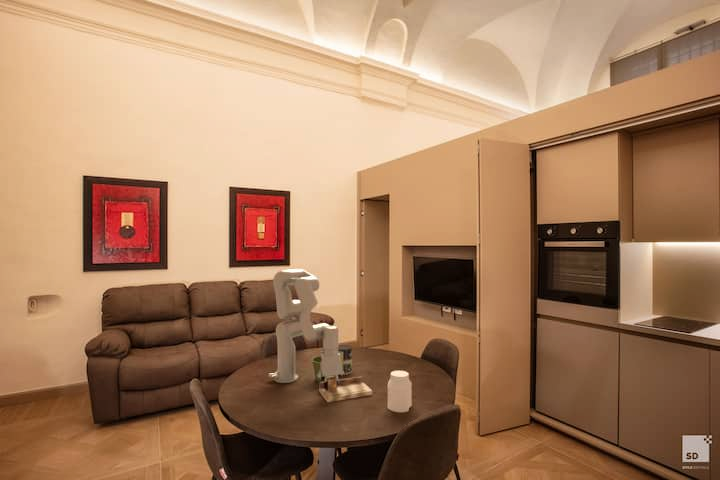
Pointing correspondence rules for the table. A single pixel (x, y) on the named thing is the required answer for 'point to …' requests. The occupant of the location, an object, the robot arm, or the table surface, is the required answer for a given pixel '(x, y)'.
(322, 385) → the board
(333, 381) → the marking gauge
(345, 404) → the table surface
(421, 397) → the table surface
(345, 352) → the coffee can
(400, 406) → the jar
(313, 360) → the plant pot
